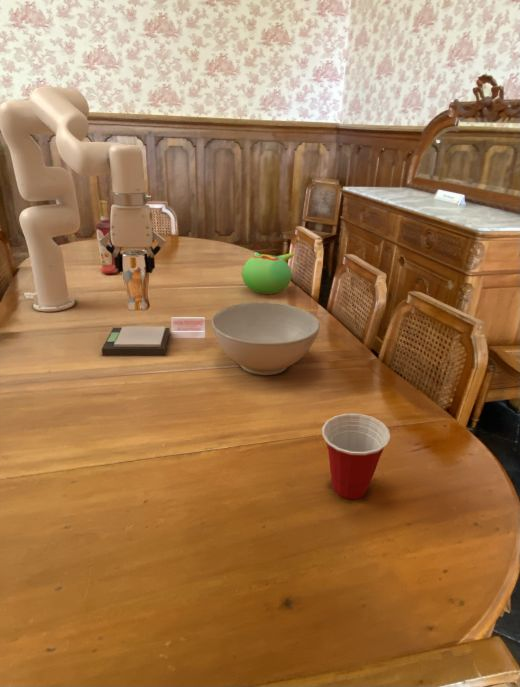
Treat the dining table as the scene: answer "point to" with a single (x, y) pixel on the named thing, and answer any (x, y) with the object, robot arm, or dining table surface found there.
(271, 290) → the green round pot
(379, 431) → the plastic cup
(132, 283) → the beer glass
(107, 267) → the liquor
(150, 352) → the scale
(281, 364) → the decorative bowl
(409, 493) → the dining table surface
